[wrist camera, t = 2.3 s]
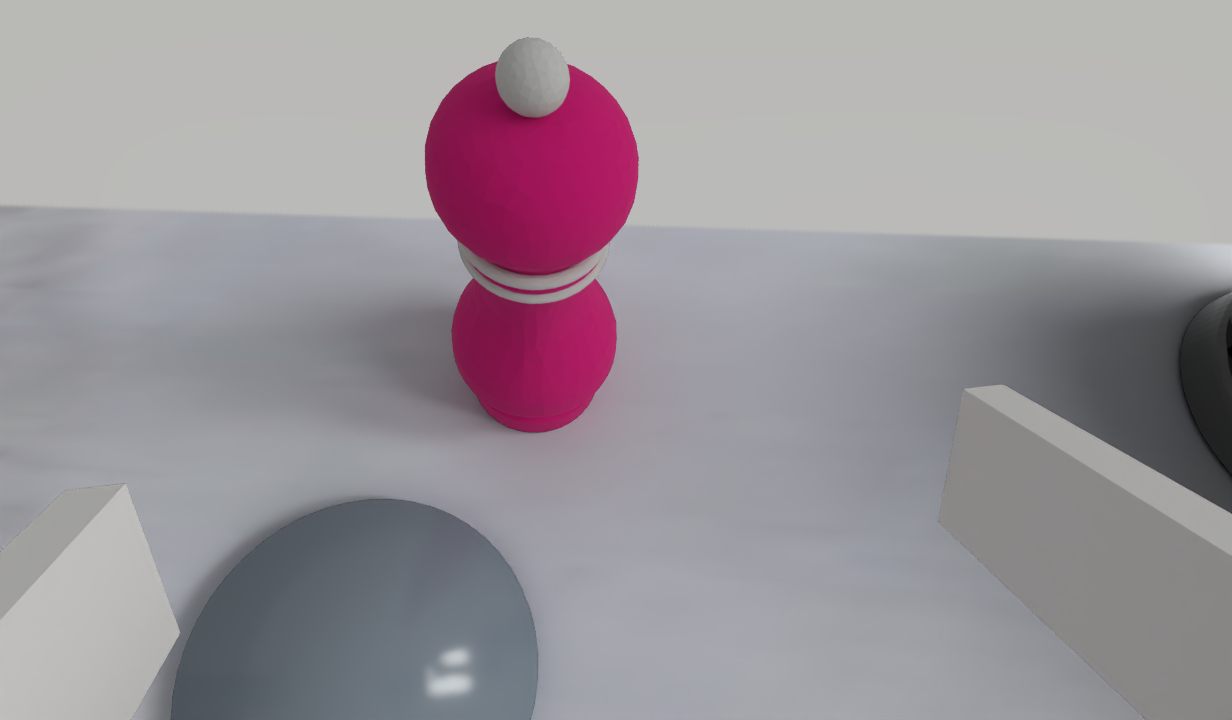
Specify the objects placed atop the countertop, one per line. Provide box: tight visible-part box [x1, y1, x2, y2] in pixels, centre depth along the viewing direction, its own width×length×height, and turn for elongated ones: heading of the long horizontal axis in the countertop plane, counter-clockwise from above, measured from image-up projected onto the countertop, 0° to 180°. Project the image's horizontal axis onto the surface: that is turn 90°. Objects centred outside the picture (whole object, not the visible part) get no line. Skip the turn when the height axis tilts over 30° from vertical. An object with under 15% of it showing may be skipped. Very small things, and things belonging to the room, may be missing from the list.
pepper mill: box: [425, 37, 639, 432], centre depth 24 cm, size 7×7×20 cm
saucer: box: [171, 499, 538, 720], centre depth 27 cm, size 14×14×1 cm
